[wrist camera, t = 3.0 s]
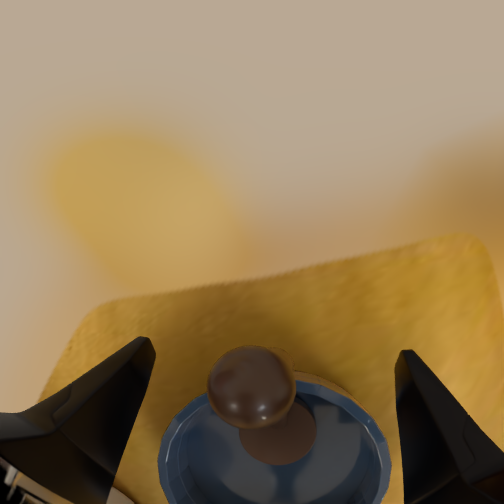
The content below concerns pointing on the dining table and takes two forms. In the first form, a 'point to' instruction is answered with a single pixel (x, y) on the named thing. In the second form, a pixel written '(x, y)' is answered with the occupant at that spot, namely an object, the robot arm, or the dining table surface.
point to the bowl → (277, 476)
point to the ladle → (262, 403)
